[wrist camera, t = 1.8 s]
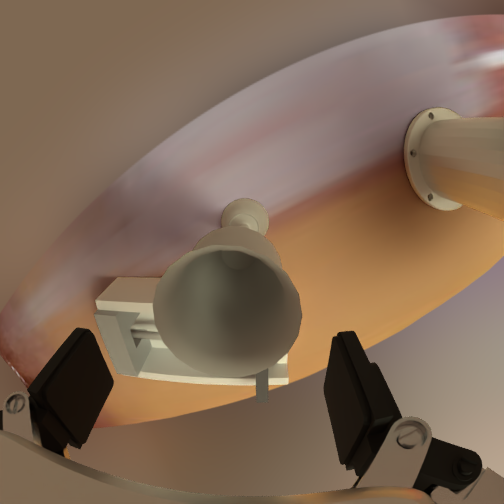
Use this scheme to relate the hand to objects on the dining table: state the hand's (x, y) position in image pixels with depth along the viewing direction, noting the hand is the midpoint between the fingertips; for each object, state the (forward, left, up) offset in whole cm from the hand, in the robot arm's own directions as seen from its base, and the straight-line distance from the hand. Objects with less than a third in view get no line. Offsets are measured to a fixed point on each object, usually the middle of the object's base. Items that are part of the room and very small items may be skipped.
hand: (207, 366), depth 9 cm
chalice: (0, 0, -21) cm, 21 cm away
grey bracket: (+6, +12, -21) cm, 25 cm away
